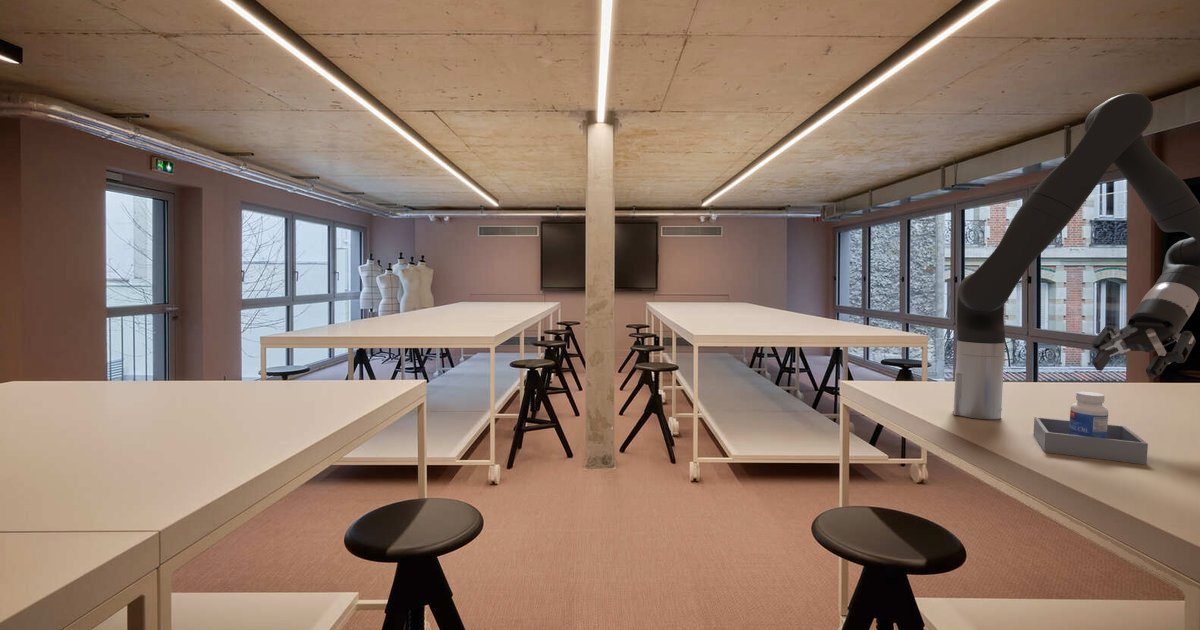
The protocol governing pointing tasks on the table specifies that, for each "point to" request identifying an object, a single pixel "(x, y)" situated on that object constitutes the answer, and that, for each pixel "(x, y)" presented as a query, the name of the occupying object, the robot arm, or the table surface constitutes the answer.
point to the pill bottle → (1089, 415)
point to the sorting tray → (1090, 442)
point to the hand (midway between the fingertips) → (1122, 371)
